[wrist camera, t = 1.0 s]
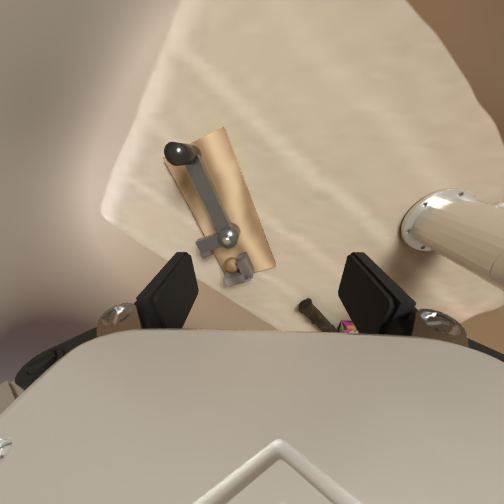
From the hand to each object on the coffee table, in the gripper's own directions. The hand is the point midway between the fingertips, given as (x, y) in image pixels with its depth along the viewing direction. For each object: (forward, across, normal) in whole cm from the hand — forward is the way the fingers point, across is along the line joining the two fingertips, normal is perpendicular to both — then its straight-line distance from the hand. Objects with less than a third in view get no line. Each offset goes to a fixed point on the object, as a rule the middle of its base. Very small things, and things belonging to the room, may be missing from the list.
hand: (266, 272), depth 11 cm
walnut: (+28, +8, +16) cm, 33 cm away
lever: (+28, +12, +2) cm, 30 cm away
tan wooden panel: (+29, +8, +6) cm, 31 cm away
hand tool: (+28, -17, +36) cm, 49 cm away
